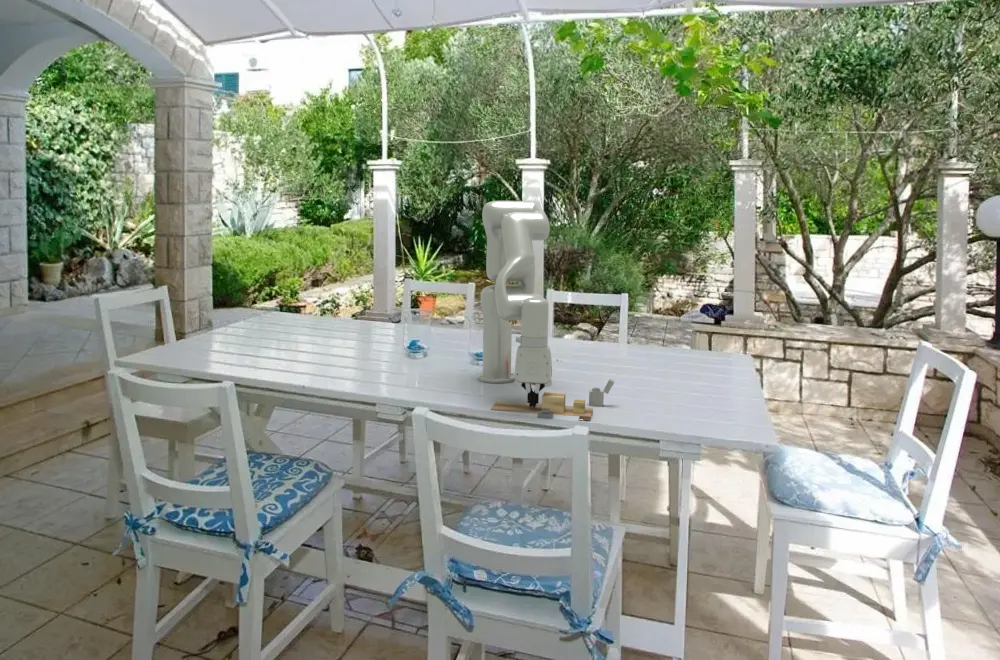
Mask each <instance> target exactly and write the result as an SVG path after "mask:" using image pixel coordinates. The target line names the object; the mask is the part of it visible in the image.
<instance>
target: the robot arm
mask: <svg viewBox="0 0 1000 660" xmlns="http://www.w3.org/2000/svg"><path fill="white" fill-rule="evenodd" d="M481 217H482V223H483V224H482V225H483V228H484V231H485V235H486V262H485V263H486V264H485V266H486V269H485V270H486V271H485V272H486V276H487V278H488V279H489V280H490V281H492V282H495V284H492V285H487V286H485V287H484V288H483V289H482V291H481V292H480V305H481V313H482V372H480V373H479V374H478V375H477V379H478V381H481V382H484V383H490V384H491V383H492V384H505V383H510V382H514V384H515V385H516V386H519V387H522V388H523V389H524V390H525V392H526V393H527V397H526V398H527V400H526V401H527V402H526V403H527V404H529V407H531V406H533V407H535V406H536V404H539V397H540V396H539V395H540V394H539V393H540V392H541V391H542V390H543V389H545V388H550V387H552V386H553V380H552V375H553V374H552V373H553V368H552V367H553V365H552V364H553V363H552V361H553V360H552V353H551V352H552V351H551V348H550V346H549V345H548V342H549V312H550V311H549V310H550V309H549V307H550V306H549V301H548V300H547V299H546V298H544V296H543V295H542V294H539V293H535V283H536V282H535V279H536V265H535V264H536V263H535V261H536V259H535V253H534V252H535V250H534V245H533V241H545V240H547V239H548V238H549V236H550V230H551V227H550V221H549V217H548V216H547V214H546V212H545V211H544V210H543V209H542V207H540V205H539V204H538V203H537V202H536V201H531V200H492V201H489V202H486V203H485V204H484V205H483V207H482V215H481ZM507 282H518V284H506V283H507ZM510 321H520V335H519V336H518V337H517V336H515V343H519V346H517V348H516V355H515V365H514V373H513V372H512V339H513V336H512V335H513V334H512V331H513V330H512V329H513V328H512V325H511V323H510ZM532 384H535V386H534V387H535V388H534V389H533V387H532Z"/></svg>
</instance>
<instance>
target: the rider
mask: <svg viewBox="0 0 1000 660" xmlns="http://www.w3.org/2000/svg"><path fill="white" fill-rule="evenodd" d="M566 396H567V394H566V392H557V391H555V392H554V391H544V392H543V393H542V396H541V404H542V408H546V409H550V412H554V413H564V410H565V406H566V400H567V399H566Z"/></svg>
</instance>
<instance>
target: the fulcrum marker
mask: <svg viewBox="0 0 1000 660" xmlns="http://www.w3.org/2000/svg"><path fill="white" fill-rule="evenodd" d="M537 418H538V419H549V420H550V419H551V420H553V418H554V412H550V409H546V408H542V411H539V412H538V413H537Z"/></svg>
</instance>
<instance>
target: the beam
mask: <svg viewBox="0 0 1000 660" xmlns="http://www.w3.org/2000/svg"><path fill="white" fill-rule="evenodd" d="M593 409H594V408H593V407H587V406H586V399H585V398H574V400H573V405H572V406H571V405H570V406H568V405H565V410H564V413H554V415H556V416H573V417H579V418H578V420H579V419H583V420H591V421H592V417H593ZM490 411H494V412H495V411H497V412H513V413H526V414H538V412H539V411H542V403H541V404H539V403H538V404H536V406H535V407H533V406H531V407H529V403H527V402H525V403H523V402H509V401H495V403H494V404H493V406H491V408H490ZM554 415H553V416H554ZM591 416H592V417H591ZM583 420H582V421H583Z"/></svg>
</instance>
